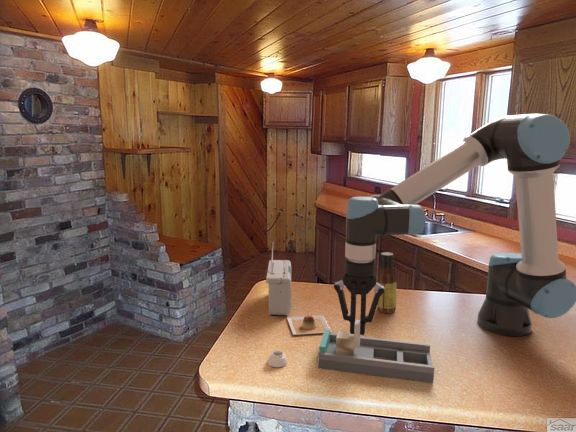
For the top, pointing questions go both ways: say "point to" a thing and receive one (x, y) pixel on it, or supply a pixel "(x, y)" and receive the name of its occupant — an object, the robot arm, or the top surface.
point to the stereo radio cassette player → (279, 286)
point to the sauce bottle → (387, 284)
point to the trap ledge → (379, 367)
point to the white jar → (277, 359)
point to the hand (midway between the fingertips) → (356, 345)
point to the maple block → (345, 343)
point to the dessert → (308, 323)
